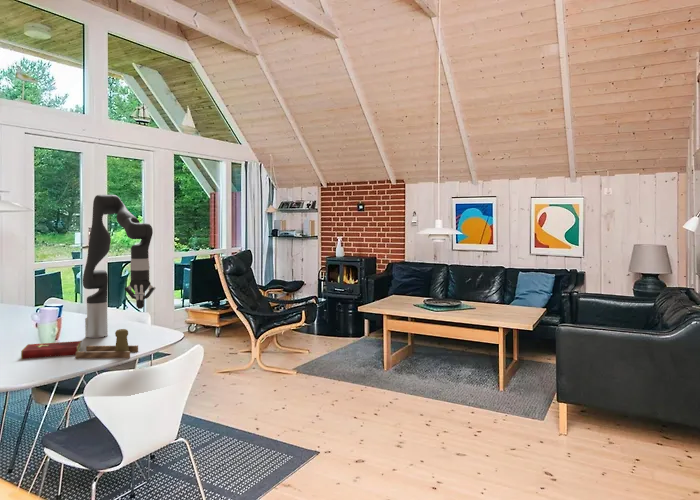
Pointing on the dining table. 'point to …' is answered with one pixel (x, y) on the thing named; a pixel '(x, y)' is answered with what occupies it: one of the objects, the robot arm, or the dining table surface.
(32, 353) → the hardcover book
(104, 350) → the brown flat piece
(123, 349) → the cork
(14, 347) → the dining table surface
